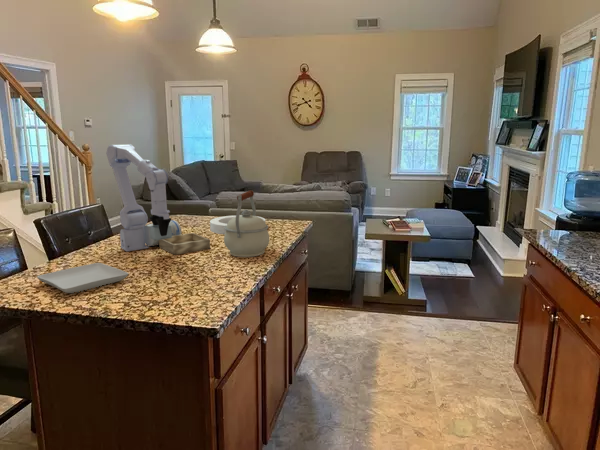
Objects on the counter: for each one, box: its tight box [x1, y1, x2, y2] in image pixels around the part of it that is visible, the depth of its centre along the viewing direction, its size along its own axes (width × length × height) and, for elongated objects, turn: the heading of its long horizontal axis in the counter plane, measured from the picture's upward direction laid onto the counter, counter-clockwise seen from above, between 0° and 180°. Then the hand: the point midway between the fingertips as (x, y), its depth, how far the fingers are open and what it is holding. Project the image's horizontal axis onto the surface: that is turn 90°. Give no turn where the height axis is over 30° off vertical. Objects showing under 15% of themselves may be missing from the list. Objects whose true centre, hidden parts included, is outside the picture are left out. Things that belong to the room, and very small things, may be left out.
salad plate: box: [37, 262, 129, 294], centre depth 146 cm, size 21×21×3 cm
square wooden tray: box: [158, 232, 211, 256], centre depth 190 cm, size 16×16×4 cm
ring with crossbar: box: [209, 214, 266, 235], centre depth 228 cm, size 28×28×5 cm
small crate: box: [149, 225, 172, 240], centre depth 178 cm, size 7×5×5 cm
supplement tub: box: [144, 219, 183, 247], centre depth 197 cm, size 10×10×15 cm
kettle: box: [223, 190, 270, 258], centre depth 181 cm, size 25×18×25 cm
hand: (161, 234), depth 178 cm, fingers closed on small crate, 5 cm apart
